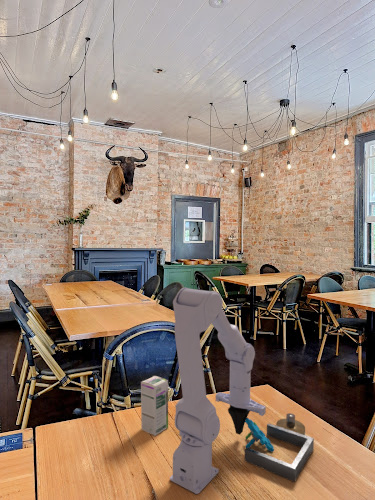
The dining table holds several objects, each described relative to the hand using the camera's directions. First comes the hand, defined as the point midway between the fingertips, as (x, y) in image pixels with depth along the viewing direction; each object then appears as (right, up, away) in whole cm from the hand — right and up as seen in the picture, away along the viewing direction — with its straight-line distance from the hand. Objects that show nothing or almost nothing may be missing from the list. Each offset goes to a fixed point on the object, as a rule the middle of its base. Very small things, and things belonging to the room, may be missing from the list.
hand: (239, 432), depth 96 cm
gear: (+5, -2, -4) cm, 6 cm away
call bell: (+15, -2, +4) cm, 16 cm away
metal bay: (+10, -2, -7) cm, 12 cm away
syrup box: (-24, -2, +5) cm, 25 cm away
